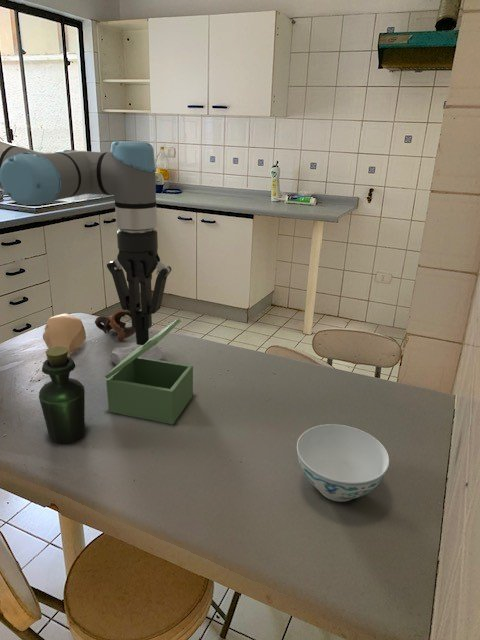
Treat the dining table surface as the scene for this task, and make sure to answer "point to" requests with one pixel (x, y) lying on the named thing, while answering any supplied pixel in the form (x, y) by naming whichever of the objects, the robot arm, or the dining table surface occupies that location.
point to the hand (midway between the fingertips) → (142, 342)
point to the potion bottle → (62, 398)
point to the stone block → (122, 353)
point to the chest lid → (143, 348)
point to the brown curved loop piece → (115, 324)
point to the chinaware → (341, 461)
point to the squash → (64, 332)
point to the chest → (151, 389)
